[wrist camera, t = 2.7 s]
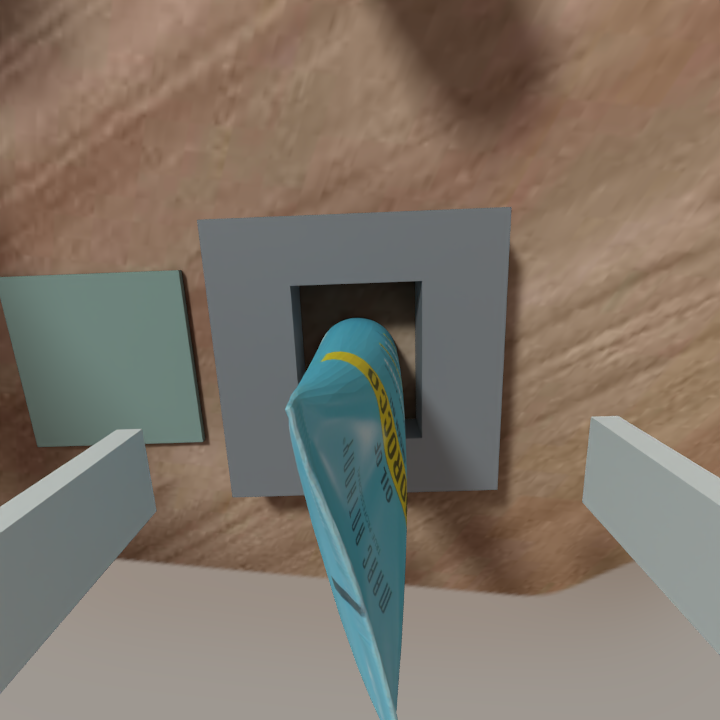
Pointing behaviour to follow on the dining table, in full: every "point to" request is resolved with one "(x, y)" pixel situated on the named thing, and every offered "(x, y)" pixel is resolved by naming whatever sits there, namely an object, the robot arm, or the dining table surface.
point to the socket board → (347, 266)
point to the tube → (358, 490)
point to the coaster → (104, 356)
